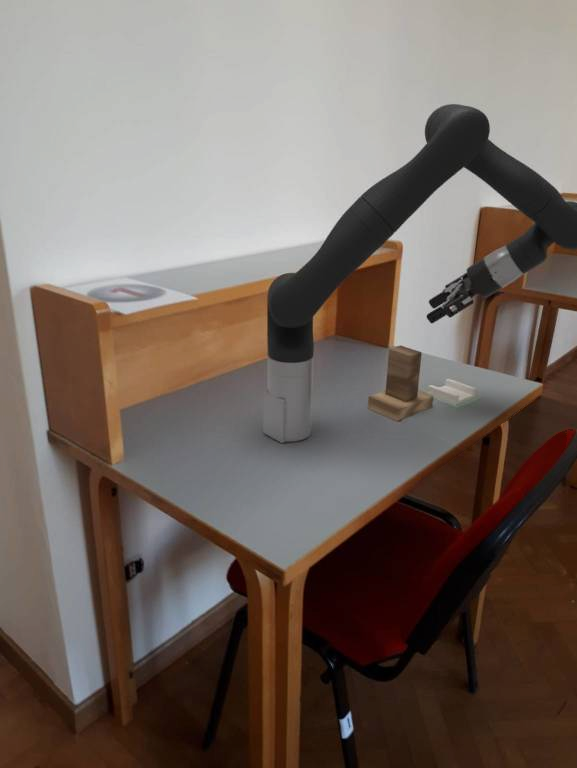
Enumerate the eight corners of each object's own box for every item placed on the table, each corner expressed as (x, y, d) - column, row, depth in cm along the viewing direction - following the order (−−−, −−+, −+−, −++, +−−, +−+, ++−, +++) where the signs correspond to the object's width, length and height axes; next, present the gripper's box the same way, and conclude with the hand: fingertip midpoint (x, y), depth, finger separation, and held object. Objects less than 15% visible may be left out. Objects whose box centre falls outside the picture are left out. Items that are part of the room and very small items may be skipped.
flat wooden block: (397, 421, 140) (398, 409, 139) (367, 408, 146) (368, 396, 145) (432, 407, 147) (433, 395, 146) (402, 395, 154) (403, 384, 152)
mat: (457, 409, 147) (457, 407, 147) (422, 395, 154) (422, 394, 154) (479, 399, 152) (480, 397, 152) (445, 387, 159) (445, 385, 159)
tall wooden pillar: (405, 402, 142) (409, 355, 138) (385, 394, 147) (389, 348, 142) (417, 398, 145) (421, 352, 141) (396, 390, 149) (400, 345, 145)
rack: (454, 405, 148) (456, 396, 147) (427, 394, 153) (428, 386, 152) (475, 397, 153) (476, 388, 152) (447, 387, 158) (448, 378, 157)
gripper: (484, 247, 139) (421, 287, 147) (485, 268, 127) (417, 311, 135) (503, 274, 141) (440, 313, 149) (506, 297, 129) (437, 338, 136)
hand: (429, 312), depth 142 cm, fingers open, 8 cm apart
